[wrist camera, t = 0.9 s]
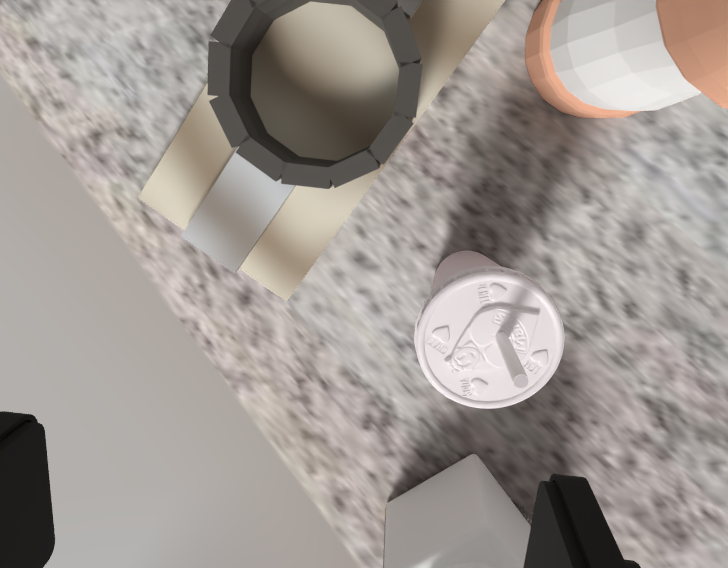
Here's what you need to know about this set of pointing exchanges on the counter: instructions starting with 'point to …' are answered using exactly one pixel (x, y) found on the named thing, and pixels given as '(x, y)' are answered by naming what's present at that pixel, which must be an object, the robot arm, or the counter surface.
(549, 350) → the smoothie
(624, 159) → the counter surface
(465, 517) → the medicine bottle
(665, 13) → the pepper shaker
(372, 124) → the socket rail
